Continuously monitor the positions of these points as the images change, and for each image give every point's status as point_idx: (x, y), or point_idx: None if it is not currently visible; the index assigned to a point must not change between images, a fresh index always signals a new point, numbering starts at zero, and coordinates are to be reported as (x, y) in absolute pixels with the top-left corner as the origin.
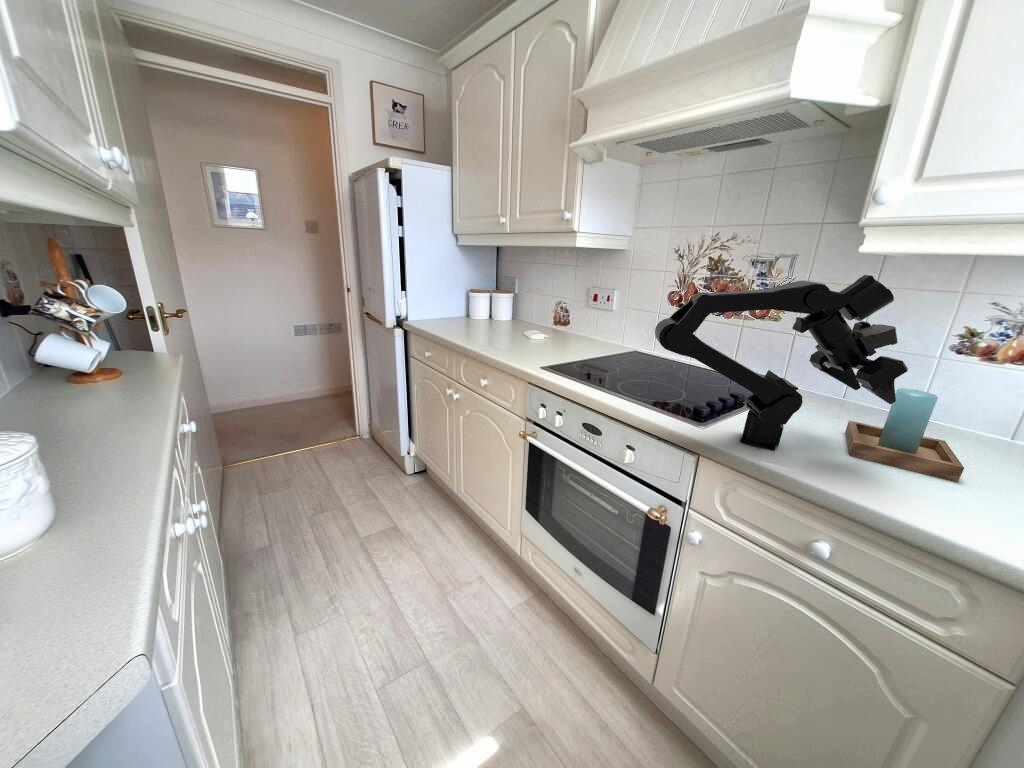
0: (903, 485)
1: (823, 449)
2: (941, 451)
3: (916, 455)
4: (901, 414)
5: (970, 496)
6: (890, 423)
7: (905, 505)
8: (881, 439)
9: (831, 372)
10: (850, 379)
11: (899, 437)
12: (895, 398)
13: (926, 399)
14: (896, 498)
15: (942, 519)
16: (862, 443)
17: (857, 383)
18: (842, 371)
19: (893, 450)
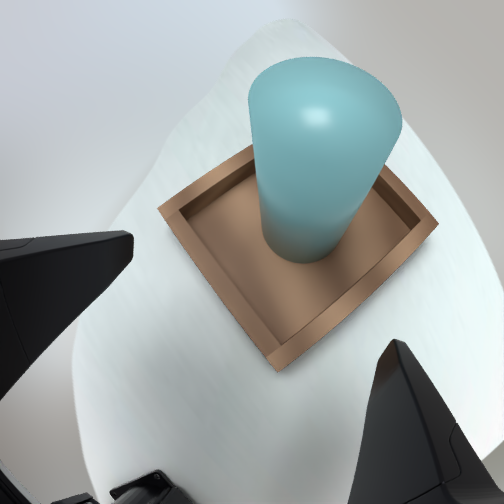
0: None
1: (227, 398)
2: None
3: (383, 269)
4: (329, 215)
5: (456, 274)
6: (295, 231)
7: None
8: (279, 248)
9: (2, 380)
10: (71, 282)
11: (328, 243)
12: (413, 357)
13: (397, 139)
14: None
15: (481, 415)
16: (291, 352)
17: (108, 249)
18: (10, 323)
19: (349, 303)
